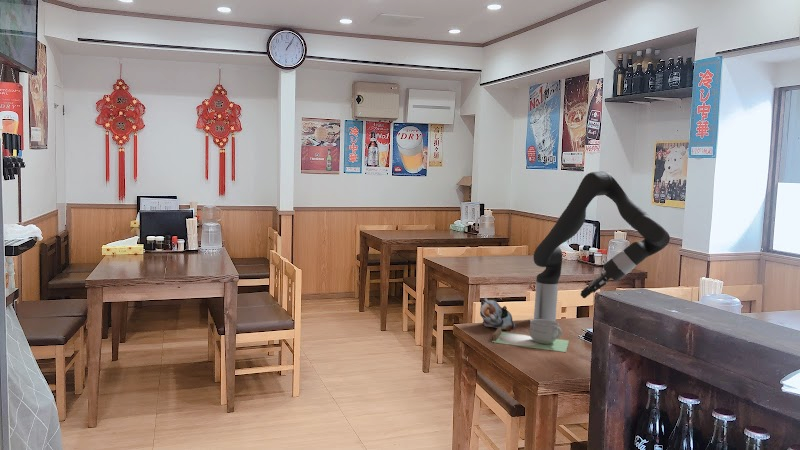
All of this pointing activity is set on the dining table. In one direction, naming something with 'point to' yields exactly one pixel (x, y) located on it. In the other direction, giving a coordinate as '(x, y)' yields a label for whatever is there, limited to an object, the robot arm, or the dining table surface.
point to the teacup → (544, 331)
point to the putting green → (527, 341)
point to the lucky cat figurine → (495, 315)
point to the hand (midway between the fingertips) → (582, 295)
